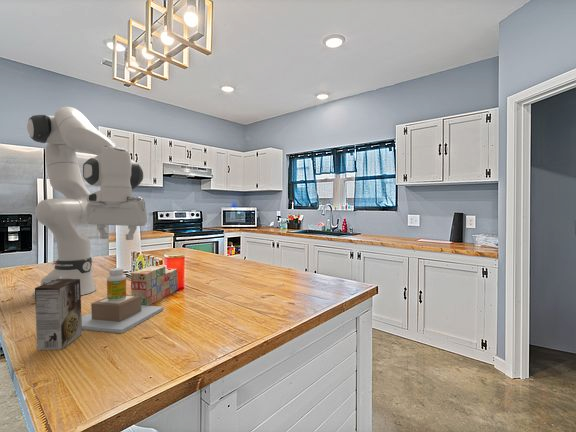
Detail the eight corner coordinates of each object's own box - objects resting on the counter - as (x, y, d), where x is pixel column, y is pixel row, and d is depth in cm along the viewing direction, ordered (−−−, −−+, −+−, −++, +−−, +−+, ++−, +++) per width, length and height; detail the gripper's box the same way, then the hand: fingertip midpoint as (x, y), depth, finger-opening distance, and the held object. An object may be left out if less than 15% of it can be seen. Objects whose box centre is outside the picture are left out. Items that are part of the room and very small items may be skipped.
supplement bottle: (111, 302, 97) (110, 271, 96) (104, 299, 100) (104, 269, 100) (129, 298, 101) (128, 268, 100) (122, 295, 104) (121, 266, 104)
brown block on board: (63, 327, 93) (63, 306, 93) (114, 305, 112) (113, 288, 112) (122, 333, 89) (121, 311, 89) (163, 309, 108) (163, 292, 108)
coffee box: (58, 335, 87) (57, 278, 87) (82, 334, 88) (81, 278, 87) (35, 350, 78) (33, 287, 78) (62, 349, 79) (60, 286, 78)
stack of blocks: (164, 289, 134) (164, 261, 133) (178, 290, 133) (177, 261, 132) (131, 305, 113) (130, 272, 112) (146, 307, 112) (146, 273, 111)
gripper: (151, 197, 101) (151, 239, 102) (97, 196, 106) (98, 236, 106) (137, 196, 95) (138, 241, 96) (81, 196, 99) (82, 239, 100)
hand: (116, 239), depth 101 cm, fingers open, 8 cm apart
